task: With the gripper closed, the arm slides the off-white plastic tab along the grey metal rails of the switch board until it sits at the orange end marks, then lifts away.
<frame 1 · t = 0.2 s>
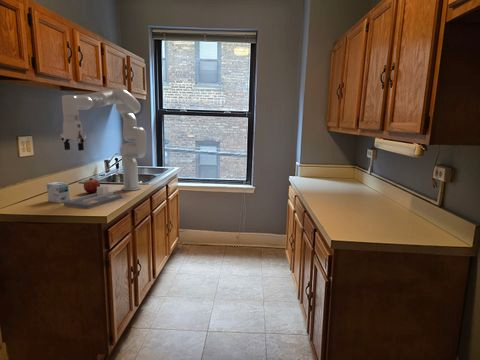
hand: (74, 150, 178), 31 cm above the counter, tool pointing down, fingers open, 9 cm apart
fruit: (92, 193, 211), on the counter
switch tab: (102, 191, 194), point 5 cm above the counter, slide at 0.0 cm
light bulb box: (59, 201, 190), on the counter
switch board: (94, 201, 189), on the counter
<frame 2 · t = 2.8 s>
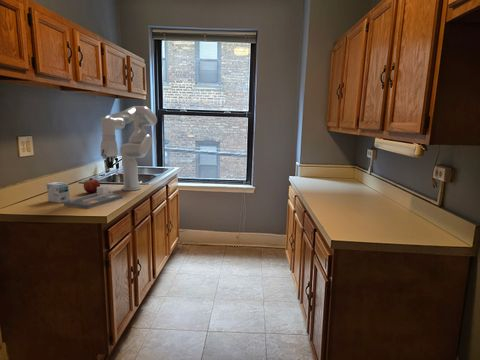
hand: (110, 167, 199), 18 cm above the counter, tool pointing down, fingers closed
nothing on the counter moved.
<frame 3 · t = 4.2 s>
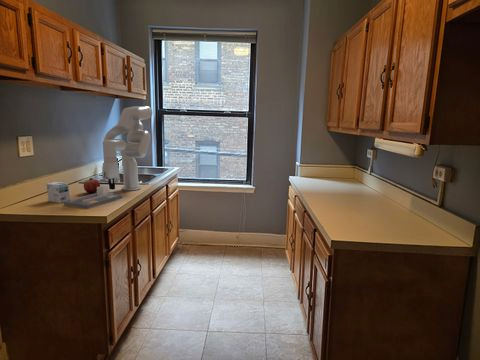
hand: (112, 189, 202), 5 cm above the counter, tool pointing down, fingers closed
nothing on the counter moved.
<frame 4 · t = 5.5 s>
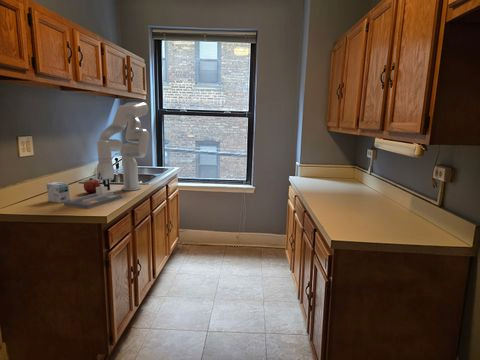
hand: (107, 190, 198), 5 cm above the counter, tool pointing down, fingers closed
switch tab: (101, 191, 194), point 5 cm above the counter, slide at 0.7 cm, touching gripper
everything else where it was.
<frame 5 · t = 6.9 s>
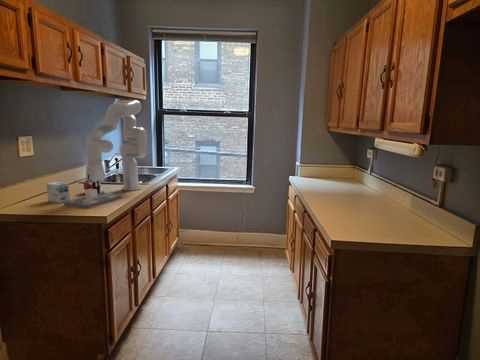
hand: (97, 192, 190), 5 cm above the counter, tool pointing down, fingers closed
switch tab: (91, 193, 187), point 5 cm above the counter, slide at 8.6 cm, touching gripper
everything else where it was.
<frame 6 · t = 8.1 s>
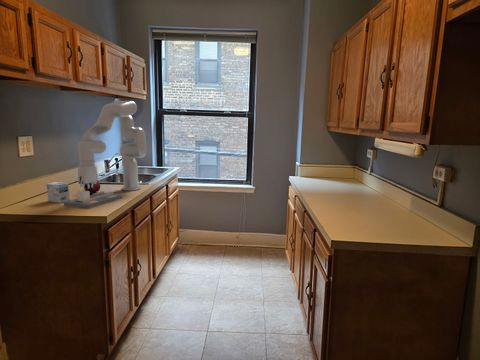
hand: (89, 194, 185), 5 cm above the counter, tool pointing down, fingers closed
switch tab: (83, 195, 182), point 5 cm above the counter, slide at 14.2 cm, touching gripper
everything else where it was.
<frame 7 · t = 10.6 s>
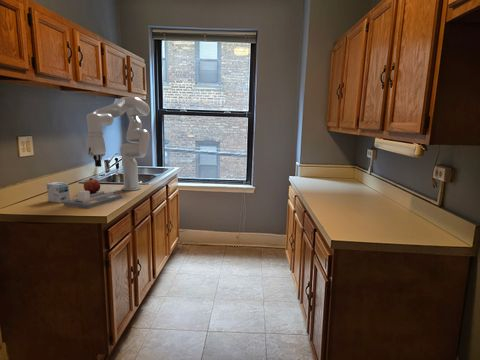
hand: (98, 166, 190), 20 cm above the counter, tool pointing down, fingers closed
switch tab: (83, 195, 182), point 5 cm above the counter, slide at 14.1 cm
everything else where it was.
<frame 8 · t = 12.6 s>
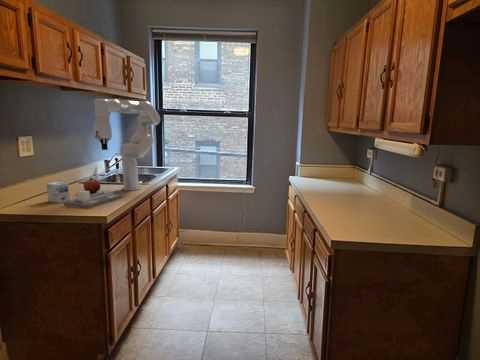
hand: (104, 149, 199), 29 cm above the counter, tool pointing down, fingers closed
nothing on the counter moved.
at the end: switch tab slide at 14.1 cm; light bulb box moved 0.3 cm from its start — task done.
